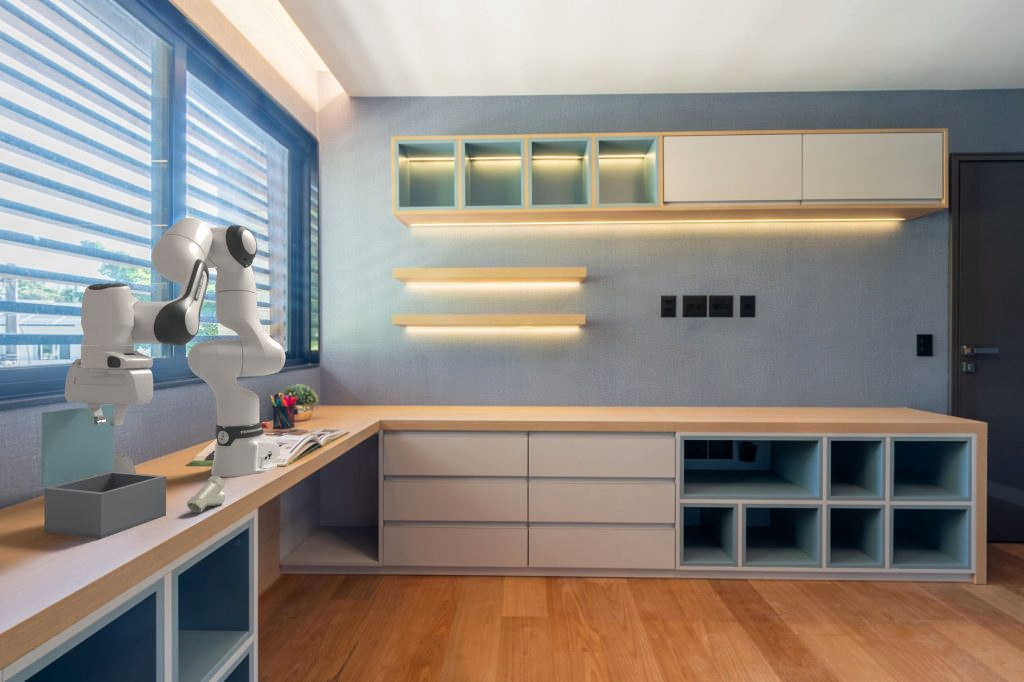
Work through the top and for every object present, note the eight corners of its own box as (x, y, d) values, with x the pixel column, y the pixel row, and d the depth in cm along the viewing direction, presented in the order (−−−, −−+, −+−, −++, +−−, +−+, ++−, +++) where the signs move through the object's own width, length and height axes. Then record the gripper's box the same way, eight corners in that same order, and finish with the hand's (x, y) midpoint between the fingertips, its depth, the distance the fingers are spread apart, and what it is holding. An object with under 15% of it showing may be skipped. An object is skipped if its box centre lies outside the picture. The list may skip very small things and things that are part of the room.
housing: (113, 511, 118) (113, 471, 118) (166, 517, 114) (166, 476, 114) (44, 533, 105) (44, 488, 105) (100, 540, 101) (100, 494, 101)
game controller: (140, 489, 136) (140, 450, 136) (129, 494, 132) (129, 454, 132) (83, 489, 135) (83, 451, 135) (69, 494, 131) (69, 455, 131)
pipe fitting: (218, 495, 125) (208, 474, 121) (232, 497, 124) (222, 476, 121) (194, 522, 118) (183, 501, 115) (209, 524, 117) (198, 503, 114)
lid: (113, 470, 118) (111, 469, 118) (113, 404, 118) (111, 404, 118) (44, 486, 105) (41, 486, 105) (44, 412, 105) (41, 412, 105)
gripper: (55, 359, 109) (55, 425, 109) (130, 360, 104) (130, 429, 104) (86, 358, 115) (86, 420, 115) (159, 359, 110) (159, 424, 110)
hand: (107, 424), depth 110 cm, fingers open, 3 cm apart
